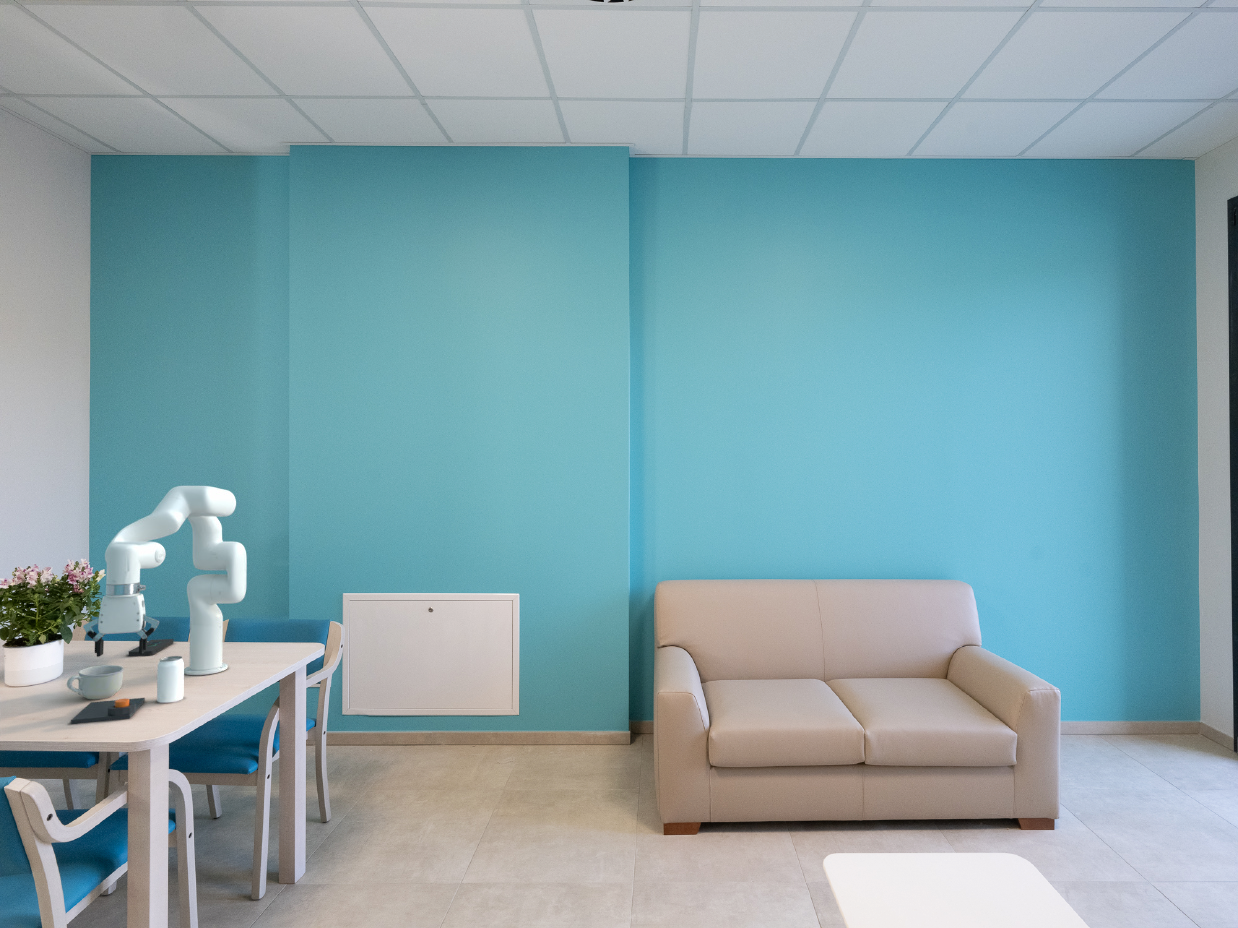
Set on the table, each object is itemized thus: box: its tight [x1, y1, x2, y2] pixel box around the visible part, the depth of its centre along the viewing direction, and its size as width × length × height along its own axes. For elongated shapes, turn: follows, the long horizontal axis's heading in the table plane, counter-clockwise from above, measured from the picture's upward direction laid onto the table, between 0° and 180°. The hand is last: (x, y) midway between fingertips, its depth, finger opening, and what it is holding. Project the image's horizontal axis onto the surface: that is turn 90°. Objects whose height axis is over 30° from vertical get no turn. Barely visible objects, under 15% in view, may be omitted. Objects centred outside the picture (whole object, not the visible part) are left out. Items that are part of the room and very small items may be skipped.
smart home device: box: [127, 638, 174, 657], centre depth 275 cm, size 8×2×20 cm
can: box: [156, 655, 185, 704], centre depth 213 cm, size 6×6×12 cm
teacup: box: [66, 664, 124, 700], centre depth 215 cm, size 14×11×8 cm
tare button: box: [115, 698, 130, 708], centre depth 199 cm, size 3×3×2 cm
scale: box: [70, 697, 146, 725], centre depth 202 cm, size 16×14×3 cm
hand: (121, 654), depth 199 cm, fingers open, 9 cm apart
